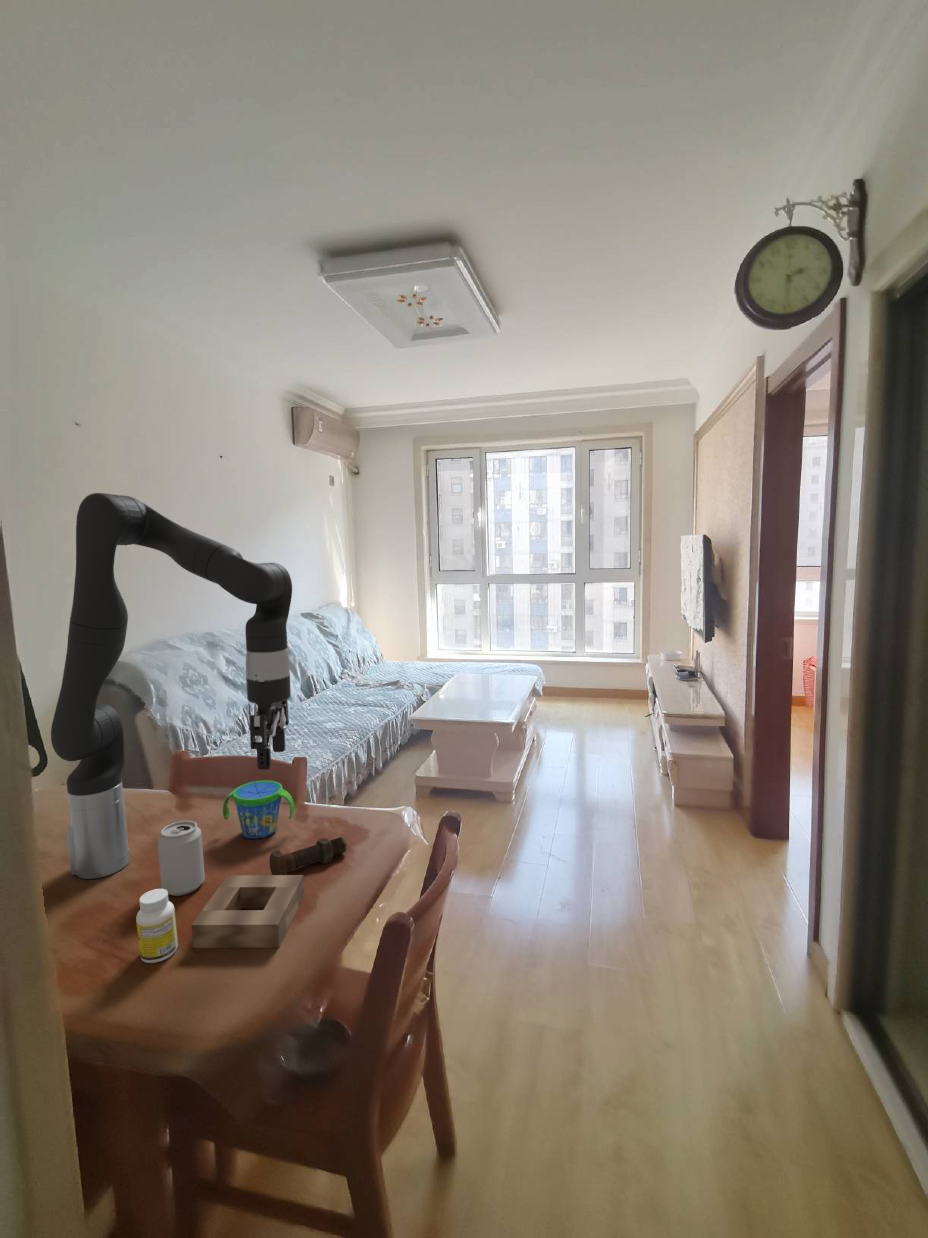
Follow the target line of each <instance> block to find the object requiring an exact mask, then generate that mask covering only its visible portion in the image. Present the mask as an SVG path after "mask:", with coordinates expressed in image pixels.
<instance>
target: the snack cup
mask: <svg viewBox="0 0 928 1238" xmlns="http://www.w3.org/2000/svg"><path fill="white" fill-rule="evenodd" d="M282 797H283V798H284V799H285V800H286V803H288V804H289V806H290V807H289V817H288V819H289V820H292V818H293V816H294V812H295V803H294V799H293V797H292V795H291V794H290V793H289V792H288V791H287V790H285V789H284V788H283V785H282V784H281V783H280V782H277V781H275V780H256V781H255V780H254V781H250V782H246V783H245V784H242V785H239V786H238V787H236V788H235V789H234V790H233V791H231V792H230V793H229V794H228V795H227V796H226V797H225V799H224V801H223V805H222V816H223V817H222V818H223V819H224V820H227V819H229V818H230V815H231V813H230V812H231V811H230V809H229V805H228V804H229V800H230V798H232V799H233V802H234V804H235V807H236V811H237V816H238V817H237V818H238V821H239V825H240V829H241V833H242V835H243V836H244V837H245V838H246V839H258V838H262V839H265V838H266V837H268V836H271V835H272V834H274V833H275V832H276V831H277V829H278V824H279V818H280V817H279V815H280V807H281V801H282Z"/></svg>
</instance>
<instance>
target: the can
mask: <svg viewBox="0 0 928 1238" xmlns="http://www.w3.org/2000/svg"><path fill="white" fill-rule="evenodd" d="M157 850H158V853H157V854H158V863H159V874H160V886H161V889H165V890H167V892H168V896H169V895H170V896H173V897H174V896H175V897H179V896H185V895H187V894H188V895H189V894H190V893H192V892H194V891H196V890H197V889H199V887H200V886H201V885H202V884H203V883H204V881H205V880H206V876H205V863H204V851H203V836H202V829H201V828H200V827H198V823H197V822H196V821H193V820H181V821H175V822H173V823H169V824H168V825H166V826H164V827H163V828H162V829H161V830H160V835H159V837H158V838H157Z"/></svg>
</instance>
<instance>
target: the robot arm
mask: <svg viewBox="0 0 928 1238" xmlns="http://www.w3.org/2000/svg"><path fill="white" fill-rule="evenodd" d="M77 509H78V511H77V513H76V514H77V516H76V521H75V522H76V525H75V576H74V583H73V584H74V587H73V598H72V599H73V600H72V606H71V611H70V612H71V613H70V617H69V624H68V625H69V626H68V635H67V644H66V645H67V648H66V655H65V662H64V668H63V675H62V680H61V685H60V690H59V695H58V699H57V702H56V707H55V710H54V715H53V719H52V723H51V729H50V742H51V746H52V749H53V750H54V752H55V754H56V755H57V756H58V757H59V758H60V759H62V760H63V761H67V762H77V761H79V762H78V764H77V765H76V767H75V768H74V769H73V770H72V771H71V773H70V774H69V775H68V776H67V778H66V790H67V799H68V808H69V816H70V826H69V827H68V828H67V829H66V838H67V846H68V847H67V849H68V856H69V865H70V866H69V867H70V874H71V875H72V876H73V875H75V876H77V877H78V878H80V879H85V880H94V879H100V878H103V877H107V876H110V875H112V874H113V875H114V874H115V873H117V872H119V871H120V870H123V869H124V868H125V867H126V866H128V864H129V862H130V850H129V842H128V841H129V840H128V829H127V828H128V827H127V819H126V808H125V800H124V798H125V797H124V789H123V780H122V779H123V777H122V776H123V771H124V768H125V763H126V761H125V759H126V758H125V756H126V755H125V734H124V733H125V731H124V725H123V721H122V718H121V716H120V714H119V713H118V711H117V710H116V709H115V708H114V707H112V706H111V705H110V704H107V703H98V699H99V695H100V692H101V690H102V688H103V685H104V684H105V682H106V680H107V679H108V677H109V676H110V674H111V672H112V671H113V669H114V668H115V666H116V664H117V663H118V661H119V659H120V656H121V655H122V653H123V650H124V647H125V642H126V636H127V630H128V620H129V614H128V610H127V609H128V608H127V606H126V603H125V601H124V598H123V596H122V594H121V592H120V590H119V587H118V585H117V582H116V580H115V579H116V578H115V572H114V571H115V567H114V566H115V557H116V556H115V555H116V552H117V551H116V550H117V546H129V545H130V546H131V545H136V546H141V547H145V548H149V549H153V550H156V551H159V552H161V553H163V554H165V555H166V556H168V557H169V558H171V559H172V560H173V561H174V562H175V563H176V564H177V565H178V566H179V567H181V568H182V569H184V570H186V571H187V572H189V573H191V574H193V575H195V576H198V577H200V578H202V579H204V580H206V581H208V582H211V583H214V584H216V585H219V586H220V587H221V588H222V589H223V590H224V591H226V592H227V593H229V594H230V595H232V596H233V597H235V598H236V599H238V600H240V601H243V602H245V603H248V604H252V605H256V606H255V613H254V615H253V616H252V617H250V618H248V619H247V621H246V622H245V628H244V629H245V630H244V631H245V645H246V646H245V647H246V648H245V649H246V651H245V652H246V654H245V678H246V679H245V681H246V683H245V684H246V697H247V701H248V702H249V703H251V704H255V705H256V706H257V710H256V712H255V714H250V716H249V735H250V750H256V761H257V762H256V763H257V764H256V765H257V769H258V770H259V771H260V770H261V771H262V770H270V768H271V767H272V754H271V753H272V751H273V752H274V753H283V752H285V750H286V731H287V726H289V723H290V719H289V704H288V703H289V702H288V701H289V699H290V698H291V696H292V695H291V694H292V691H291V690H292V689H291V667H290V663H291V662H290V657H289V652H288V651H289V649H288V634H287V633H288V632H287V622H288V618H289V615H290V609H291V604H292V596H293V583H292V578H291V575H290V573H289V571H288V570H287V569H286V567H285V566H284V565H282V564H280V563H277V562H260V563H257V562H252V561H249V560H247V559H244V558H243V555H242V554H241V553H240V552H239V551H238V550H236V549H234V548H232V547H231V546H228V545H225V544H223V543H222V542H219V541H216V540H214V539H212V538H210V537H207V536H205V535H202V534H200V533H197V532H195V531H193V530H191V529H188V528H186V527H184V526H182V525H180V524H179V523H176V522H175V521H173V520H171V519H169V518H167V516H164V515H163V514H162V513H160V512H158V511H157V510H155V509H154V508H153V507H151V506H149V505H148V504H146V503H145V502H143V501H140V500H139V499H137V498H135V497H132V496H129V495H123V494H122V495H119V494H111V493H103V492H95V493H91V494H88V495H87V496H85V497H84V498H83V499H82V501H81V502H80V504H79V507H78V508H77ZM271 744H272V745H271ZM271 746H272V749H271ZM271 750H272V751H271Z"/></svg>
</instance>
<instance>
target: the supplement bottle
mask: <svg viewBox="0 0 928 1238" xmlns="http://www.w3.org/2000/svg"><path fill="white" fill-rule="evenodd" d="M139 908H140V909H139V910H138V911H137V914H136V918H135V921H136V930H137V938H138V939H137V940H138V947H139V950H138V951H139V956H140V959H141V961H142V962H144V963H148V964H155V963H158V962H162V961H164V960H167V959H168V958H170V957H171V956H172V955H173V954H175V952H177V950H178V946H179V941H178V930H177V920H176V909H175V905H174V904H173V902H172V901H170V900H169V894H168V892H167V890H165V889H162V888H154V889H151V890H149V891H146V892H144V893H143V894H142V895H141V896H140V897H139Z"/></svg>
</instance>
